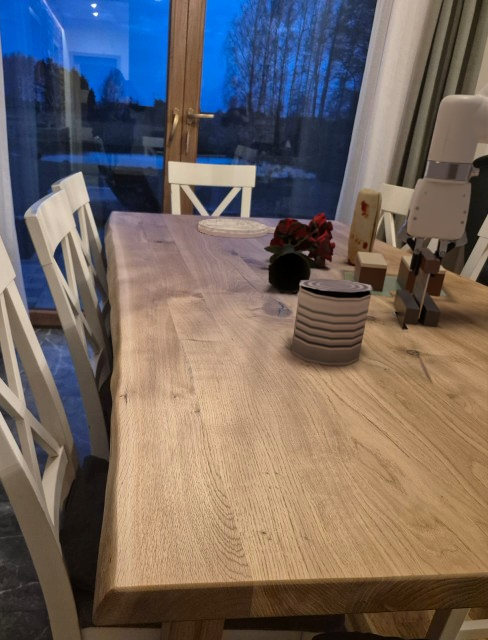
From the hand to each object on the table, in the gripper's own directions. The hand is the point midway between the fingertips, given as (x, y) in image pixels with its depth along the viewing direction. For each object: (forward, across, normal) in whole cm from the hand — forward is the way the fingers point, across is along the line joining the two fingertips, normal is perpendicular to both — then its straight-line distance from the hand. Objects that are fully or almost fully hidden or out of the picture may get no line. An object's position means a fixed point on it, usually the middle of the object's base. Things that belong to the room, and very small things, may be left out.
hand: (423, 274), depth 111 cm
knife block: (+9, 0, 0) cm, 9 cm away
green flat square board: (+9, +1, -23) cm, 25 cm away
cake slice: (+8, +7, -23) cm, 26 cm away
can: (+9, +18, +25) cm, 32 cm away
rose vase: (+9, +24, -27) cm, 37 cm away
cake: (+8, -4, -23) cm, 25 cm away
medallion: (+9, +45, -83) cm, 95 cm away
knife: (+7, 0, 0) cm, 7 cm away
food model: (+9, +8, -45) cm, 47 cm away
